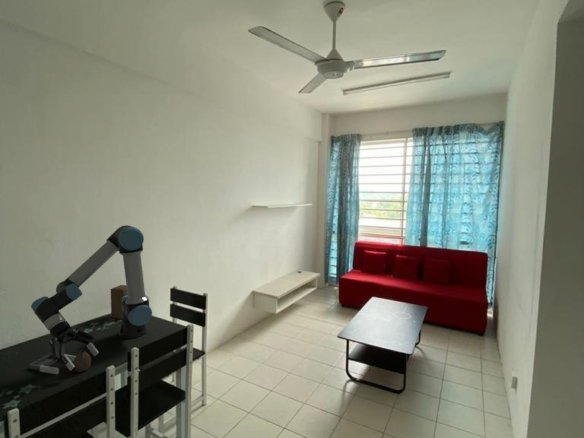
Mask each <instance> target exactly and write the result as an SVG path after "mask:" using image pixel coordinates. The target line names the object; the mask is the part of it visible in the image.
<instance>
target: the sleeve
mask: <svg viewBox="0 0 584 438" xmlns="http://www.w3.org/2000/svg"><path fill="white" fill-rule="evenodd" d="M65 355H67V357H68V358H69V359H70V360H71V362H72V363H74V359H75V357H76V356H77V355H72V354H66V353H64V356H65ZM39 372H42V373H47V374H53V375H58V374H60V368H59V367H54V366H43V365H41V366H40V371H39Z"/></svg>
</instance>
